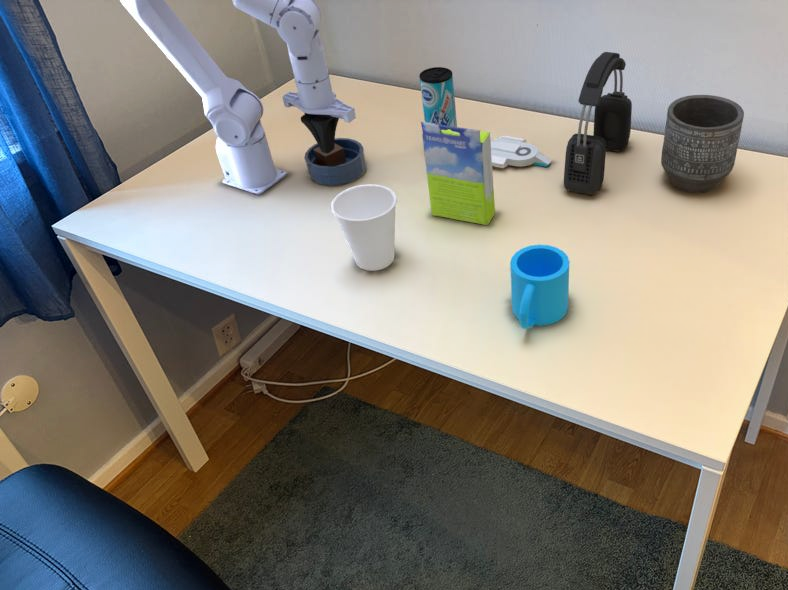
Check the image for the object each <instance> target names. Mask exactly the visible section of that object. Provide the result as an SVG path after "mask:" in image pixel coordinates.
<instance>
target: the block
mask: <svg viewBox="0 0 788 590" xmlns="http://www.w3.org/2000/svg"><path fill="white" fill-rule="evenodd" d="M313 150H314V154H315V158H316V162H317V165H319V166H337V165H341V164H345V163H346V158H345V154H344V149H343V148H342V147H340V146H339V145H337V144H335V145H334V150H332V151H331V152H329V153H328V154H327V153H323V152H322V151H321V149H320V147H317V148H315V149H313Z"/></svg>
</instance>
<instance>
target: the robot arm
mask: <svg viewBox="0 0 788 590" xmlns="http://www.w3.org/2000/svg"><path fill="white" fill-rule="evenodd" d="M119 2H120V3H121V5H122V6H123V7H124V9H126V10H127V11H128V13H129V14H130V15H131V17H133V19H134V20H135V21H136V22H137V23H138V25H139V26H140V27H141V28H142V29H143V30H144V31H145V33H146V34H147V36H149V37H150V39H151V40H152V41H153V42H154V43H155V44H156V45H157V47H158V48H159V49H160V50H161V52H162V53H163V54H164V55H165V56H166V58H167V59H168V60H169V61H170V62H171V63H172V64H173V65H174V67H175V68H176V69H177V70H178V71H179V73H181V75H182V76H183V77H184V78H185V79H186V81H187V82H188V83H189V84H190V86H192V88H193V89H194V90H195V91H196V92H197V93H198V95H199V96H200V97H201V98H202V104H203V105H202V106H203V111H204V116H205V117H206V118H207V119H208V121H209V122H210V124H211V125H212V128H213V131H214V134H215V135H216V137H217V138H216V140H215V151H216V153H215V154H216V155H217V158H218V162H219V164H220V167H221V170H222V173H223V175H224V179H222V183H223V184H224V185H227V186H230V187H233V188H237V189H239V190H243V191H246V192H249V193H252V194H255V195H261V194H262V193H264V192H265V191H267V190H268V189H269V188H271V187H273V186H274V185H275V184H276V183H278V182H279V181H281V180H282V179H284V178H285V177H286V176H288V172H287V171H286V170H282V169H279V168H276V166H275V162H274V159H273V155H272V152H271V148H270V146H269V142H268V138H267V135H266V131H265V129H264V127H263V124H262V122H261V121H262V120H261V119H262V117H263V116H264V106H263V103H262V100H261V99H260V98H259V96H257V94H255V92H252V91H250V90H248V89H247V88H246V87H245V86H244V85H243V84H242V83H241V82H240V80H237V79H235V78H230V77H228V76H226V74H225V73H224V72H223V70H222V69H221V68H220V67H219V66H218V64H217V63H216V62H215V61H214V59H213V58H212V56H210V55H209V53H208V52H207V51H206V50H205V49H204V47H203V46H202V45H201V44H200V43H199V41H198V40H197V38H195V36H194V35H193V34H192V33H191V32H190V30H189V29H188V28H187V27H186V25H185V24H184V23H183V22H182V20H181V19H180V18H179V17H178V15H177V14H176V13H175V12H174V10H172V8H171V7H170V5H168V4H167V2H166V1H165V0H119ZM231 2H232V4H233V7H235V8H236V9H238V10H240V11H241V12H243V13H245V14H247V15H249V16H251V17H253V18H254V19H256V20H258V21H260V22H262V23H264V24H266V25H268V26H269V27H271V28H274V29H276V31H277V34H278V36H279V37H280V38H281V39H282V40H283V42H285V43H286V48H287V51H288V58H289V62H290V64H291V65H290V66H291V69H292V74H293V77H294V82H295V87H296V91H297V92H294V91H287V93H285V94H284V95H282V96H281V97H282V100H283V105H284V107H286V108H291V107H294V108H297V109H298V110H300V112H302V113H304V114H303V115H301V117H300V122H301V123H302V124H303V125H304V126H305V127H306V128H307V129H308V131H309V132H310V133H311V135H312V136H313V138H314V140H315V142H316V144H317V143H318V145H319V147H320V149H321V151H322V152H323V153H327V154H328V153H329V152H331V151H332V150H334V145H335V138H336V133H337V126H338V123H339V121H340V119H341V120H344V123H348V124H350V123H351V122H352V121H354V120H355V119H356V118H357V117H356V116H357V115H356V110H355V107H353V106H350V105H348V104H346V103H344V102H343V101H342V100H340V99H338V98H337V94H336V93H335V92H333V87H332V84H331V83H332V82H331V78H330V73H329V68H328V63H327V57H326V53H325V49H324V45H323V42H322V37H321V31H320V29H318V28H319V26H320V23H321V20H322V19H321V18H322V14H321V9H320V7H319V5H318V4H317V2H316V1H315V0H231Z"/></svg>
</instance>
